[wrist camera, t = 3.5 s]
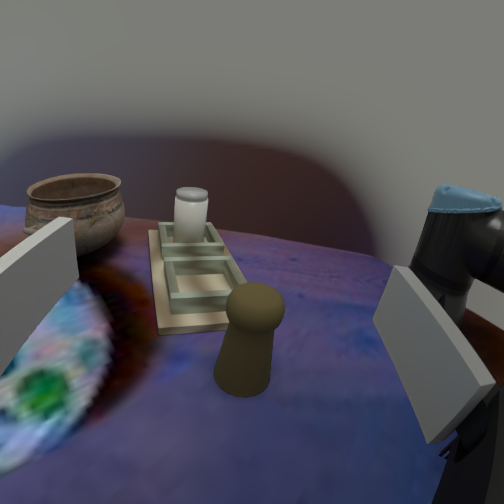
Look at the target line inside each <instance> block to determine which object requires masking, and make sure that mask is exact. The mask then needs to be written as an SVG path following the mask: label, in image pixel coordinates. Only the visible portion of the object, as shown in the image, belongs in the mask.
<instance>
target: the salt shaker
mask: <svg viewBox="0 0 504 504" xmlns="http://www.w3.org/2000/svg"><path fill="white" fill-rule="evenodd" d="M207 193H208V192H207V191H206V190H204V189H201V188H195V187H183V188H179V189H177V196H176V197H175V210H174V211H175V212H174V229H173V243H204V236H205V225H206V214H207V205H208V198H207Z"/></svg>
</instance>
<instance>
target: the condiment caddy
mask: <svg viewBox="0 0 504 504" xmlns="http://www.w3.org/2000/svg"><path fill="white" fill-rule="evenodd" d="M173 229H174V222H158V230H149V249H150V262H151V273H152V283H153V293H154V301H155V310H156V318H157V325H158V332H159V335H173V334H187V333H200V332H211V331H222V330H227V327H228V324H229V320H228V318H227V315H226V301H227V298H228V295H229V294H230V292H231V291H232V290H233V289H234V288H235V287H236V286H238V285H240V284H243V283H247V281H246V279H245V278H244V276H243V274H242V273H241V271H240V269H239V268H238V266H237V264H236V263H235V261H234V259H233V258H232V256H231V254H230V253H229V251H228V249H227V247H226V246H225V244H224V242H223V241H222V239H221V237H220V236H219V234H218V232H217V230H215V228H214V227H213V225H212V223H210V222H208V223H206V225H205V236H204V243H173Z"/></svg>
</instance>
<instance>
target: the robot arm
mask: <svg viewBox="0 0 504 504" xmlns="http://www.w3.org/2000/svg"><path fill="white" fill-rule="evenodd" d="M501 209H502V200H501V199H499V198H496V197H494V196H491V195H487V194H485V193H482V192H478V191H475V190H471V189H468V188H464V187H460V186H456V185H451V184H442V185H440V186H438V187H437V188H436V191H435V193H434V196H433V199H432V202H431V204H430V206H429V208H428V211H429V212H428V215H427V218H426V221H425V224H424V228H423V231H422V233H421V236H420V239H419V242H418V245H417V247H416V250H415V253H414V256H413V258H412V261H411V263H410V265H409V266H408V267H401V266H394V267H393V270H392V272H391V275H390V278H389V280H388V283H387V285H386V288H385V290H384V293H383V295H382V297H381V300H380V302H379V304H378V307H377V309H376V311H375V314H374V316H373V318H372V321H373V323H374V325H375V327H376V329H377V331H378V333H379V335H380V337H381V339H382V341H383V343H384V345H385V347H386V349H387V351H388V353H389V356H390V358H391V360H392V362H393V364H394V366H395V368H396V371H397V373H398V375H399V377H400V380H401V382H402V384H403V386H404V389H405V391H406V393H407V395H408V398H409V400H410V403H411V405H412V407H413V410H414V412H415V415H416V417H417V419H418V422H419V424H420V427H421V429H422V432H423V435H424V437H425V440H426V442H427V444H432V443H436V442H440V441H443V440H445V439H446V438H447V437H448V436H449V435H450V434H451V433H452V432H453V431H454V430H455V429H456V431H457V433H458V436H457V437H456V438H455V439H454V440H453V441H452V442H451V443H450V444H449V445H448V446H446V447H445V448H444V449H443V450H442V451H441V453H440V454H439V456H440V457H441V456H443V455H444V454H445V453H446V452H447V451H448V450H450V452H449V454H448V455H447V456H446V457H445V459H447V462H446V465H445V468H444V472H443V474H442V477H441V480H440V483H439V486H438V488H437V491H436V494H435V496H434V499H433V501H432V504H504V386H503V387H502V388H501V387H500V385H499V384H498V382H497V381H496V379H495V378H494V376H493V375H492V373H491V372H490V370H489V369H488V367H487V366H486V364H485V363H484V361H483V360H481V357H480V355H479V354H478V353H477V352H475V348H474V347H473V346H472V344H471V343H470V341H469V340H468V339H467V338H466V337H465V336H464V335H463V334H462V333H461V331H460V330H459V329H460V327H461V325H462V321H463V316H464V311H465V306H466V301H467V295H468V292H469V289H470V287H471V285H472V283H473V281H474V279H478V280H480V281H482V282H483V283H485V284H487V285H489V286H491V287H493V288H495V289H497V290H499V291H500V292H502V293H504V211H503V210H501ZM78 278H79V272H78V265H77V257H76V247H75V237H74V224H73V218H66V217H58V218H56V219H55V220H53V221H51V222H50V223H48V224H47V225H45V226H44V227H42V228H41V229H39V230H38V231H37V232H35V233H34V234H32V235H31V236H29V237H28V238H26V239H25V240H24V241H22V242H21V243H20V244H18V245H17V246H15V247H14V248H13V249H11V250H10V251H9V252H7V253H6V254H5V255H3V256H2V257H1V258H0V376H1V375H2V373H3V372H4V370H5V369H6V368H7V366H8V365H9V363H10V362H11V361H12V359H13V358H14V356H15V355H16V354H17V352H18V351H19V350H20V348H21V347H22V346H23V344H24V343H25V342H26V340H27V339H28V338H29V336H30V335H31V334H32V332H33V331H34V330H35V329H36V327H37V326H38V325H39V324H40V322H41V321H42V320H43V319H44V317H45V316H46V315H47V314H48V313H49V311H50V310H51V309H52V308H53V307H54V305H55V304H56V303H57V302H58V301H59V300H60V298H61V297H62V296H63V295H64V294H65V293H66V292H67V290H68V289H69V288H70V287H71V286H72V285H73V284H74V282H75V281H76V280H77V279H78Z"/></svg>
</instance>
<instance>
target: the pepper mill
mask: <svg viewBox="0 0 504 504" xmlns="http://www.w3.org/2000/svg"><path fill="white" fill-rule="evenodd" d="M284 313H285V305H284V300H283V298H282V296H281V295H280V293H279V292H278V291H277V290H275V289H274V288H272V287H270V286H268V285H265V284H262V283H256V282H251V283H243V284H240V285H238V286H236V287H235V288H234V289H233V290H232V291H231V292H230V294H229V295H228V298H227V301H226V315H227V318H228V320H229V324H228V327H227V330H226V333H225V337H224V340H223V343H222V346H221V349H220V352H219V356H218V359H217V362H216V365H215V368H214V378H215V381H216V383H217V384H218V386H219V387H220V388H221V389H222V390H224V391H225V392H227V393H229V394H232V395H234V396H239V397H250V396H255V395H257V394H259V393H261V392H263V391H264V390H265V389H266V388H267V386H268V383H269V381H270V370H271V360H272V349H273V338H274V330H275V329H276V328H277V327H278V326H279V325H280V323H281V322H282V319H283V316H284Z"/></svg>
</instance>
